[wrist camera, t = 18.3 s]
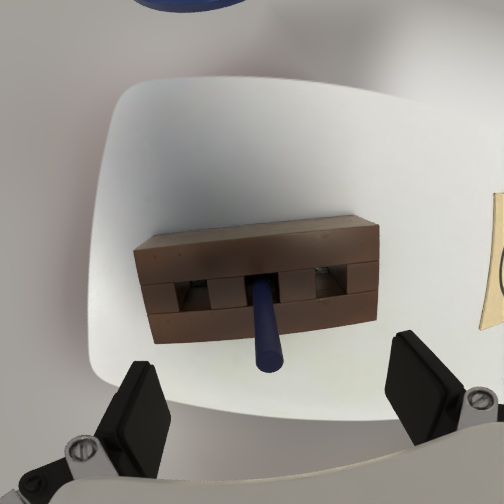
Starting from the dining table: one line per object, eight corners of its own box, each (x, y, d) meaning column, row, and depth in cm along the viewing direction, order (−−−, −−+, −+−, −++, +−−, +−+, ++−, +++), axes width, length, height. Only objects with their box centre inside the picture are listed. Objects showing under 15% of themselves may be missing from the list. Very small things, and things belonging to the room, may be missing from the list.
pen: (251, 263, 25) (254, 353, 12) (265, 261, 25) (283, 350, 12) (252, 277, 25) (257, 374, 13) (267, 275, 25) (284, 371, 13)
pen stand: (153, 235, 24) (132, 250, 19) (354, 214, 24) (379, 224, 19) (168, 315, 26) (154, 344, 21) (355, 295, 26) (376, 320, 21)
